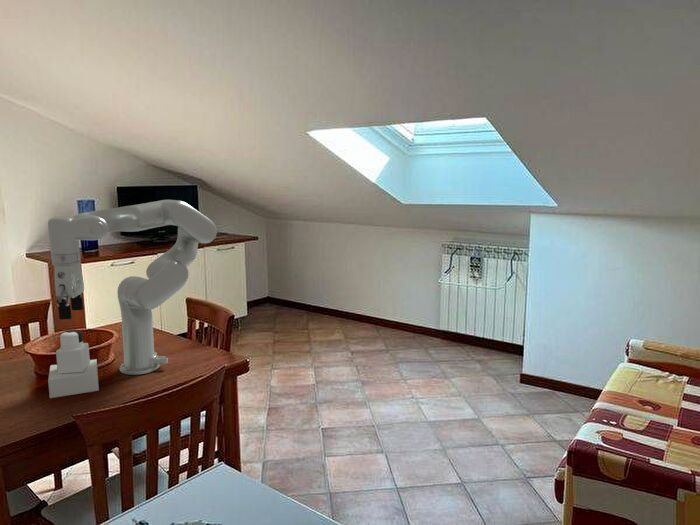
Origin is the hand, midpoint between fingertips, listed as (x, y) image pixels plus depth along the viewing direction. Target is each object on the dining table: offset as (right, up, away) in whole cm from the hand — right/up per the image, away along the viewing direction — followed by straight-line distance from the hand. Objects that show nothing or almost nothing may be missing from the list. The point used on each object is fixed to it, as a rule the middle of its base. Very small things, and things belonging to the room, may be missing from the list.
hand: (71, 314), depth 157 cm
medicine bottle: (0, -17, +2) cm, 17 cm away
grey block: (-1, -23, +3) cm, 23 cm away
